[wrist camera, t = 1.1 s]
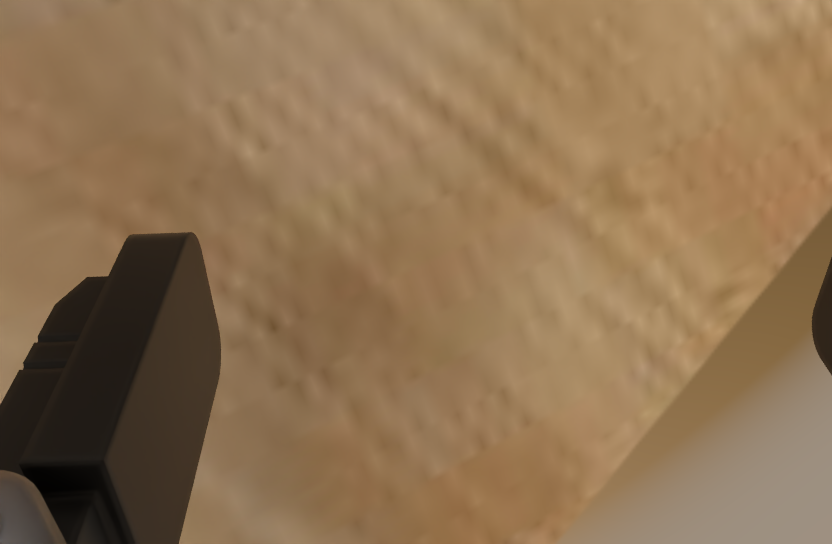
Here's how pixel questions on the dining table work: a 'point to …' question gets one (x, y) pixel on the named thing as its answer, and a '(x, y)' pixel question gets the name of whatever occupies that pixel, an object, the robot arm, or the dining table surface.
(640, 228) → the dining table surface
